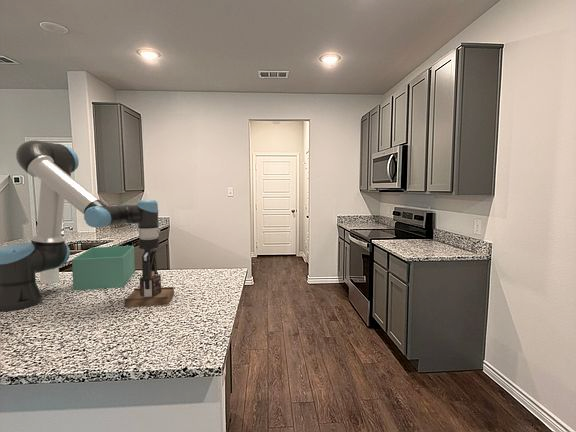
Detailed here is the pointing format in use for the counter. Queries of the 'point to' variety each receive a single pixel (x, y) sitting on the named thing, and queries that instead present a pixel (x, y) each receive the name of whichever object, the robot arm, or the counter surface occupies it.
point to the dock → (149, 298)
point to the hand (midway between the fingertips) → (150, 293)
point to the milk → (49, 276)
